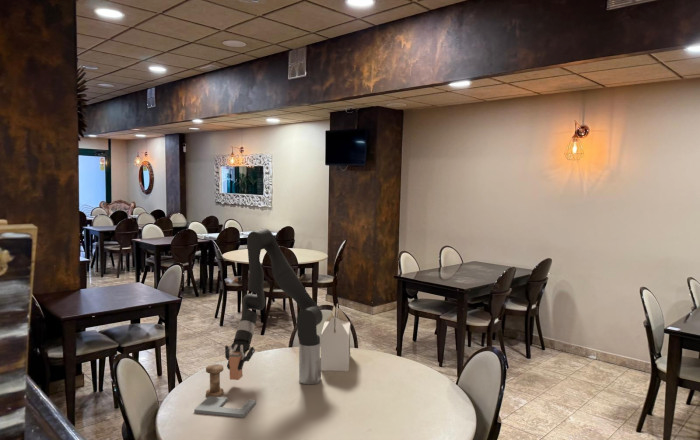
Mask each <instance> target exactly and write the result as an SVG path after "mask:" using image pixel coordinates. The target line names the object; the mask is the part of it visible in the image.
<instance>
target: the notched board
mask: <svg viewBox="0 0 700 440" xmlns="http://www.w3.org/2000/svg"><path fill="white" fill-rule="evenodd" d="M227 402H228V397H223V396H222V397H221V396H219V397H214V396H209V397H208V396H207V397H206V398H205V399H204V400H203V401H202V402H201V403H200V404H199V405H198V406H196V408H194V409H193V410H194V412H193V413H195V414H204V415H214V416H225V417H235V418H245V417H246V416H247V415H248V413H249V412H250V411H251V410H252V408H253V407H254V406H255V405H256V404H257V400H255V399H254V400H253V399H248V400H247V401H246V402H245V403H244V404H243V406H241V408H237V407H235V408H234V407H226V406H225V407H223V406H224V405H225V404H226V403H227Z"/></svg>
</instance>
